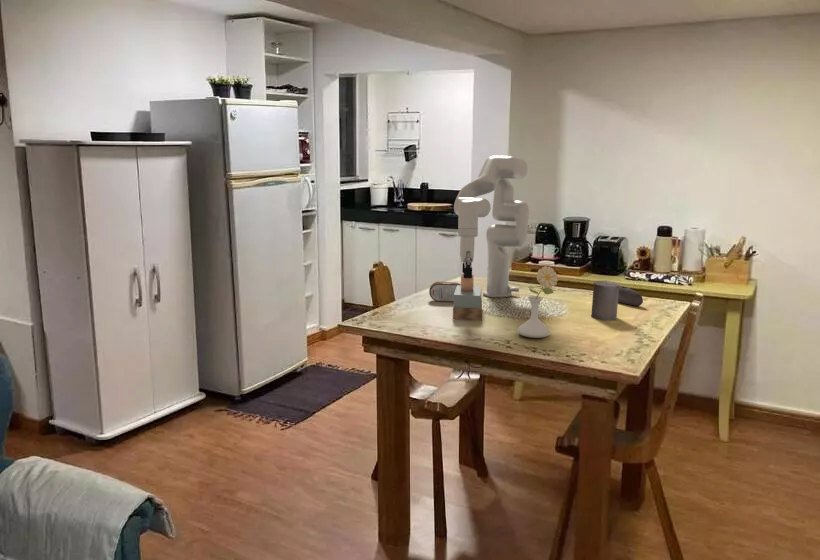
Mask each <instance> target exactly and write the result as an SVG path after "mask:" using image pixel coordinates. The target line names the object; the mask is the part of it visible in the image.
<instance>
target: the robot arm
mask: <svg viewBox="0 0 820 560" xmlns="http://www.w3.org/2000/svg"><path fill="white" fill-rule="evenodd" d="M527 174H528V164H527V161H526V160H525V159H524V158H520V157H517V156H513V155H492V156H489V157H487V158H486V159H485V161H484V162H483V165H482V167H481V169H480V172H479V174H478V176H477V178H476V179H474V180H472V181H469V182H468V183H467V184H465V185H464V186H463V187H462V188H461V189H460V190H459V192H458V194H457V196H456V197H455V200H454V204H453V211H454V213H455V214H456V215H457V216H458V218H457V221H458V223H457V225H458V226H457V227H458V229H457V235H458V237H460V242H459V244H460V245H459V250H460V251H459V260H460V262H461V263H462V271H461V272H462V273H463V274H464V278H472V275H473V267H472V266H473V265H472V263H473V262H474V259H475V258H474V257H475V237H478V235H479V234H478V233H479V227H478V225H479V223H478V222H479V218H486V217H487V216H488V215H489V214H490V212H491V211H492V212H491V214H492V215H491V216H492V218H493V220H495V221H496V222H504V223H505V222H506V223H515V225H512V224H501V223H499V224H498V223H497V224H492V225H490V226H488V228H487V229H486V234H485V236H486V237H485V238H486V243H487V244H486V246H487V267H486V270H487V273H486V290H483V292H482V295H483V296H485V297H488V298H494V299H495V298H498V299H499V298H500V299H503V298H508V297H509V298H510V297H512V293H513V292H515V293H517V292H518V293H519V291H520V288H519V287H517V286H510V284H509V275H510V274H509V273H510V254H509V252H508V250H507V249H506V248H509V247H510V248H523V247H524V246H525V245H526V242H527V236H528V227H529V226H528V225H529V219H530V218H529V216H530V208H529V205H528V203H527V202H526V201H524V200H514V193H515V189H514V186H513V184H512V182H511V181H510V180H509V179H512V180H515V179H517V180H523V179H524V178H525V177H526V176H527ZM492 192H494V193H493V200H492V201H493V202H492V208H491V203H490V201H489V200H488V199H486V198H482V197H480V196H485V195H487V194H490V193H492ZM491 209H492V210H491Z"/></svg>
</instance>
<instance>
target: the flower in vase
mask: <svg viewBox="0 0 820 560" xmlns="http://www.w3.org/2000/svg"><path fill="white" fill-rule="evenodd" d="M536 277H537V278H536V280H537V282H538V284H539V286H541V289H540V291H539V292H538V291H536V290H533V289H532V288H530V287H529V291H530V292H531V293H534V294H536V295H535V296H534V295H531V296H528V297H527V298H528V300H529V303H530V306H531V307H530V308H531V314H530V317H529V319H528V320H527V321H525V322H523V323H522V324H521V325H519V327H518V328H517V330H516V331H517V332H518V334H519V335H520V336H523V337H527V338H531V339H534V338H535V339H540V338H545V337H547V336H549V335H550V334H551V329H550V328H549V327H548V326H547V325H545V324H544V322H542V320H541V319H539V316H538V315H539V306H540V303H541V301H542V300H543V297H542V296H539V295H540V294H541V292H543V293H544V294H545V295H551V294H554V291H553V290H552V288H553V287H555V286H557V284H558V283H557V282H559V279H558V278H559V276H558V274H557V272H556V271H555V270H554V268H553V267H550V266H548V267H547V266H546V265H545V266H542V267H541V268H540V269H538V270H537V274H536Z"/></svg>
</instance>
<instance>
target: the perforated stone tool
mask: <svg viewBox="0 0 820 560" xmlns="http://www.w3.org/2000/svg"><path fill="white" fill-rule="evenodd" d="M643 300H644V298H643V296H642V294H640V292H638V291H636V290H635V289H632V288H629V287H625V286H622V285H619V294H618V303H619V304H620V303H621V304H624V305H627V304H629V305H628V306H632V305H634V306H633V307H640V306H641V305H642V304H643V303H644V301H643Z"/></svg>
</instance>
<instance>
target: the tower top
mask: <svg viewBox="0 0 820 560" xmlns="http://www.w3.org/2000/svg"><path fill="white" fill-rule="evenodd" d="M482 287H483V286H482V285H474V289H473V291H461V285H457V287H456V290H455V293H454V302H453V305H454V308H478V309H480V304H481V298H482V290H483V289H482Z"/></svg>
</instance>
